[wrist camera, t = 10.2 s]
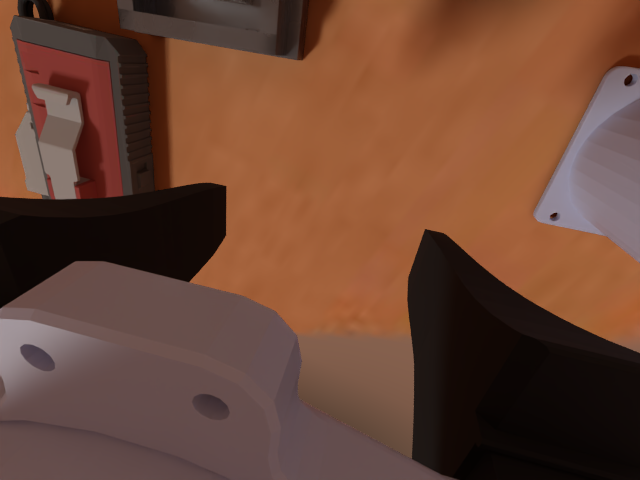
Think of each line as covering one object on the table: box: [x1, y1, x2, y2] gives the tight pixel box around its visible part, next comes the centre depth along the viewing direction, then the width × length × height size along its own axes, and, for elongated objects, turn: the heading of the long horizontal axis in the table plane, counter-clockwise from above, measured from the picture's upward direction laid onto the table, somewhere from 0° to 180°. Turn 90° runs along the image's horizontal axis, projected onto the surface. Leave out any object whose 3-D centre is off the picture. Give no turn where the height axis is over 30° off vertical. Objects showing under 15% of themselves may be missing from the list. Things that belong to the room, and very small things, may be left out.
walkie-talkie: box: [10, 0, 155, 199], centre depth 22 cm, size 9×4×20 cm
